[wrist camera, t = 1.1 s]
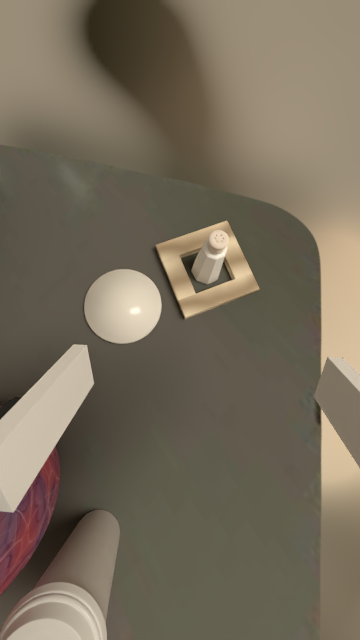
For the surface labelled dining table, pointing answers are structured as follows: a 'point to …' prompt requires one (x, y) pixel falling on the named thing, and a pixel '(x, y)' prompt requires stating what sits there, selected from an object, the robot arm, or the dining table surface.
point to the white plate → (122, 306)
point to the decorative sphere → (28, 521)
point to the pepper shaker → (211, 257)
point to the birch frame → (212, 297)
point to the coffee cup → (71, 587)
